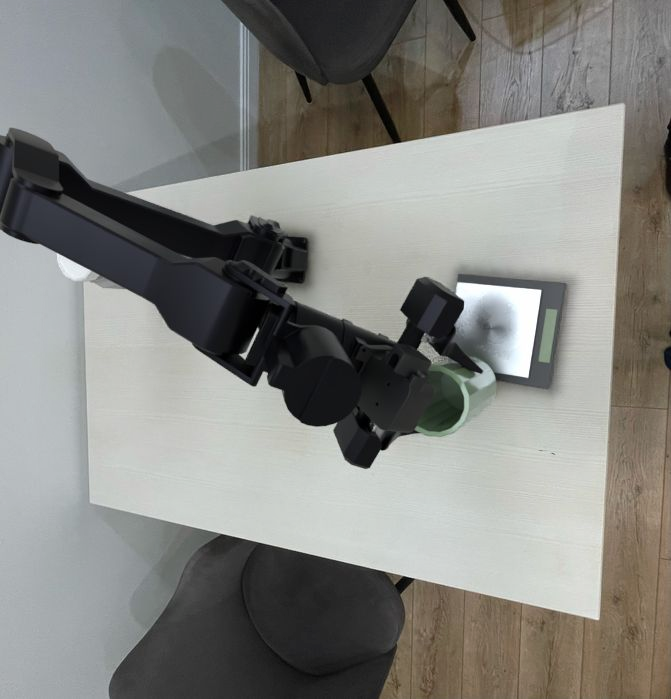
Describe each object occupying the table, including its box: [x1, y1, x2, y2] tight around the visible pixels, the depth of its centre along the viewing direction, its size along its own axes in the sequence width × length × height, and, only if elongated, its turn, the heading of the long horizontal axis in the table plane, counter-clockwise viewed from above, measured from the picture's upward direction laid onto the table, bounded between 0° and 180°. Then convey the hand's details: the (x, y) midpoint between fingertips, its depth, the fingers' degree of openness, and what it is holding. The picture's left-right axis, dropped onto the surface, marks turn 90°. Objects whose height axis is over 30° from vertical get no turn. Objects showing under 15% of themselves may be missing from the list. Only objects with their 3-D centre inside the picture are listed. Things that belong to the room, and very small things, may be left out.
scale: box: [446, 273, 567, 390], centre depth 63 cm, size 12×12×3 cm
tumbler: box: [415, 356, 498, 438], centre depth 55 cm, size 7×7×13 cm
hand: (462, 399), depth 55 cm, fingers closed on tumbler, 7 cm apart
